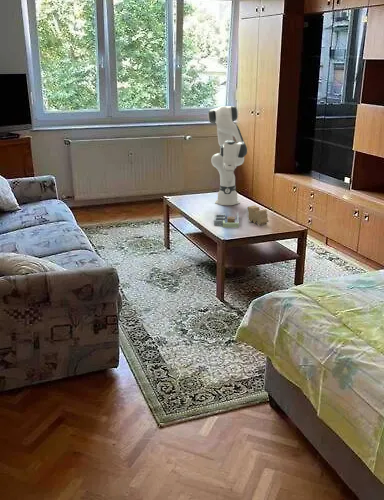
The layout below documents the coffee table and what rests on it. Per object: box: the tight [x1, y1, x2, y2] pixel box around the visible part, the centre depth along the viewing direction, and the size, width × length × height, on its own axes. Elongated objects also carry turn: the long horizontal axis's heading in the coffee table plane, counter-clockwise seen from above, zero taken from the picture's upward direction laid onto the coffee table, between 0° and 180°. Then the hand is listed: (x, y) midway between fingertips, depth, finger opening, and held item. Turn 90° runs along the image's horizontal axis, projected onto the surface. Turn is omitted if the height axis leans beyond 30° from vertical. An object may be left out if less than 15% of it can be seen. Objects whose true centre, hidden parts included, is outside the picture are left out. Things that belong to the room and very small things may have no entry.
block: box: [226, 216, 236, 223], centre depth 348 cm, size 5×5×5 cm
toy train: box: [247, 205, 270, 226], centre depth 350 cm, size 6×17×10 cm, turn 28°
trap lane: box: [213, 212, 240, 229], centre depth 354 cm, size 25×16×3 cm, turn 176°
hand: (229, 185), depth 353 cm, fingers closed
